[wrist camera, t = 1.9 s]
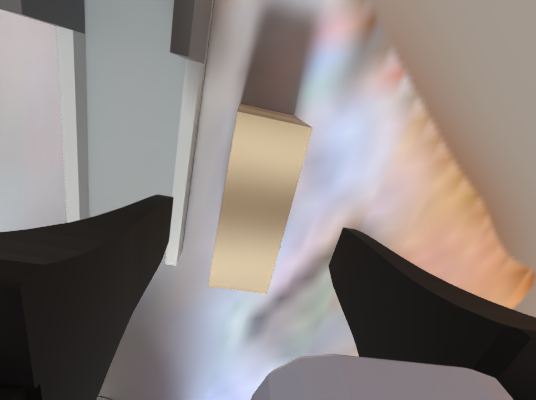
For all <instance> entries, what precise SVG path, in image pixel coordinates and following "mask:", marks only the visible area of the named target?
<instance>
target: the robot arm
mask: <svg viewBox="0 0 536 400" xmlns="http://www.w3.org/2000/svg"><path fill="white" fill-rule="evenodd" d="M173 199H174V197H170V196H164V195H159V194H157V195H153V196H150V197H148V198H145V199H143V200H140V201H137V202H135V203H132V204H130V205H127V206H124V207H122V208H118V209H115V210H112V211H109V212H106V213H103V214H100V215H97V216H94V217H90V218H86V219H82V220H78V221H73V222H69V223H64V224H58V225H52V226H46V227H40V228H34V229H27V230H18V231H9V232H0V400H97V397H98V395H99V392H100V389H101V387H102V384H103V382H104V379H105V377H106V374H107V372H108V369H109V367H110V364H111V362H112V360H113V357H114V355H115V352H116V350H117V347H118V345H119V343H120V340H121V338H122V336H123V333H124V331H125V329H126V326H127V324H128V322H129V319H130V317H131V315H132V313H133V311H134V309H135V307H136V306H137V304H138V302H139V300H140V298H141V297H142V295H143V293H144V291H145V290H146V288H147V286H148V284H149V283H150V281H151V279H152V277H153V275H154V274H155V272H156V270H157V268H158V266H159V265H160V263H161V261H162V258H163V256H164V253H165V251H166V248H167V245H168V243H169V237H170V227H171V218H172V208H173ZM329 270H330V274H331V279H332V283H333V287H334V289H335V292H336V295H337V297H338V300H339V302H340V305H341V307H342V310H343V312H344V315H345V317H346V320H347V322H348V325H349V327H350V330H351V332H352V335H353V338H354V341H355V343H356V347H357V350H358V354H359V357H357V356H347V355H337V354H327V355H316V356H304V357H299V358H297V359H295V360H293V361H291V362H289V363H287V364H285V365H283V366H281V367H279V368H277V369H274V370H273V371H272V372H270V373H269V374H268V376H267V377H266V378H265V380H264V381H263V382H262V383H261V385H260V386H259V387H258V389H257V390H256V391H255V393H254V394H253V395H252V398H251V400H536V318H535V317H532V316H528V315H526V314H523V313H520V312H517V311H515V310H512V309H509V308H507V307H504V306H501V305H498V304H496V303H493V302H491V301H488V300H486V299H483V298H481V297H478V296H476V295H474V294H472V293H469V292H467V291H465V290H462V289H460V288H458V287H456V286H454V285H452V284H449V283H447V282H445V281H443V280H442V279H440V278H438V277H436V276H434V275H432V274H430V273H428V272H426V271H424V270H423V269H421V268H419V267H417V266H416V265H414V264H412V263H411V262H409V261H407V260H406V259H404V258H402V257H401V256H399V255H398V254H396V253H394V252H393V251H391V250H390V249H388V248H387V247H385V246H384V245H382V244H381V243H379V242H377V241H376V240H374V239H373V238H371V237H369V236H368V235H366V234H364V233H362V232H360V231H358V230H355V229H349V228H343V229H342V232H341V235H340V237H339V240H338V243H337V245H336V248H335V251H334V253H333V256H332V259H331V261H330V264H329Z"/></svg>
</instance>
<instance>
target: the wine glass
mask: <svg viewBox="0 0 536 400" xmlns="http://www.w3.org/2000/svg"><path fill="white" fill-rule="evenodd" d="M97 400H110V399H108V398H104V397H100V396H98V397H97Z"/></svg>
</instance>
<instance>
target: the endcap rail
mask: <svg viewBox="0 0 536 400" xmlns="http://www.w3.org/2000/svg"><path fill="white" fill-rule="evenodd" d="M213 4H214V0H0V9H2V10H5V11H8V12H12V13H15V14H18V15H21V16H25V17H28V18H31V19H35V20H38V21H41V22H45V23H48V24H51V25H54V26H56V37H57V54H58V72H59V90H60V108H61V125H62V143H63V161H64V179H65V197H66V214H67V223H69V222H73V221H78V220H82V219H86V218H90V217H94V216H97V215H100V214H103V213H106V212H109V211H112V210H115V209H118V208H122V207H124V206H127V205H130V204H132V203H135V202H137V201H140V200H143V199H145V198H148V197H150V196H153V195H157V194H159V195H164V196H170V197H174V199H173V208H172V218H171V227H170V237H169V243H168V245H167V248H166V251H165V253H164V254H165V255H166V260H165V264H168V265H175V266H176V265H177V263H178V260H179V257H180V255H181V252H182V246H183V238H184V230H185V222H186V215H187V207H188V199H189V191H190V183H191V176H192V168H193V160H194V152H195V144H196V137H197V129H198V121H199V113H200V105H201V98H202V90H203V82H204V74H205V67H206V59H207V51H208V43H209V35H210V28H211V20H212V12H213Z"/></svg>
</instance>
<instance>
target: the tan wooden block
mask: <svg viewBox="0 0 536 400" xmlns="http://www.w3.org/2000/svg"><path fill="white" fill-rule="evenodd" d="M311 132H312V127H310V126H309V125H307V124H306V123H304V122H303V121H301V120H300V119H298V118H297V117H295V116H293V115H289V114H284V113H280V112H276V111H271V110H267V109H262V108H258V107H253V106H249V105H244V104H240V105H239V108H238V111H237V117H236V123H235V129H234V135H233V141H232V147H231V153H230V159H229V165H228V171H227V177H226V183H225V189H224V194H223V200H222V206H221V212H220V218H219V224H218V230H217V236H216V242H215V248H214V254H213V260H212V266H211V272H210V278H209V284H208V287H216V288H225V289H233V290H241V291H249V292H258V293H266V294H267V293H268V289H269V285H270V282H271V278H272V274H273V271H274V267H275V263H276V260H277V256H278V253H279V249H280V245H281V242H282V238H283V234H284V231H285V227H286V223H287V220H288V216H289V212H290V209H291V205H292V201H293V198H294V194H295V190H296V187H297V183H298V179H299V176H300V172H301V168H302V165H303V161H304V157H305V154H306V150H307V147H308V143H309V139H310V136H311Z"/></svg>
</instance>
